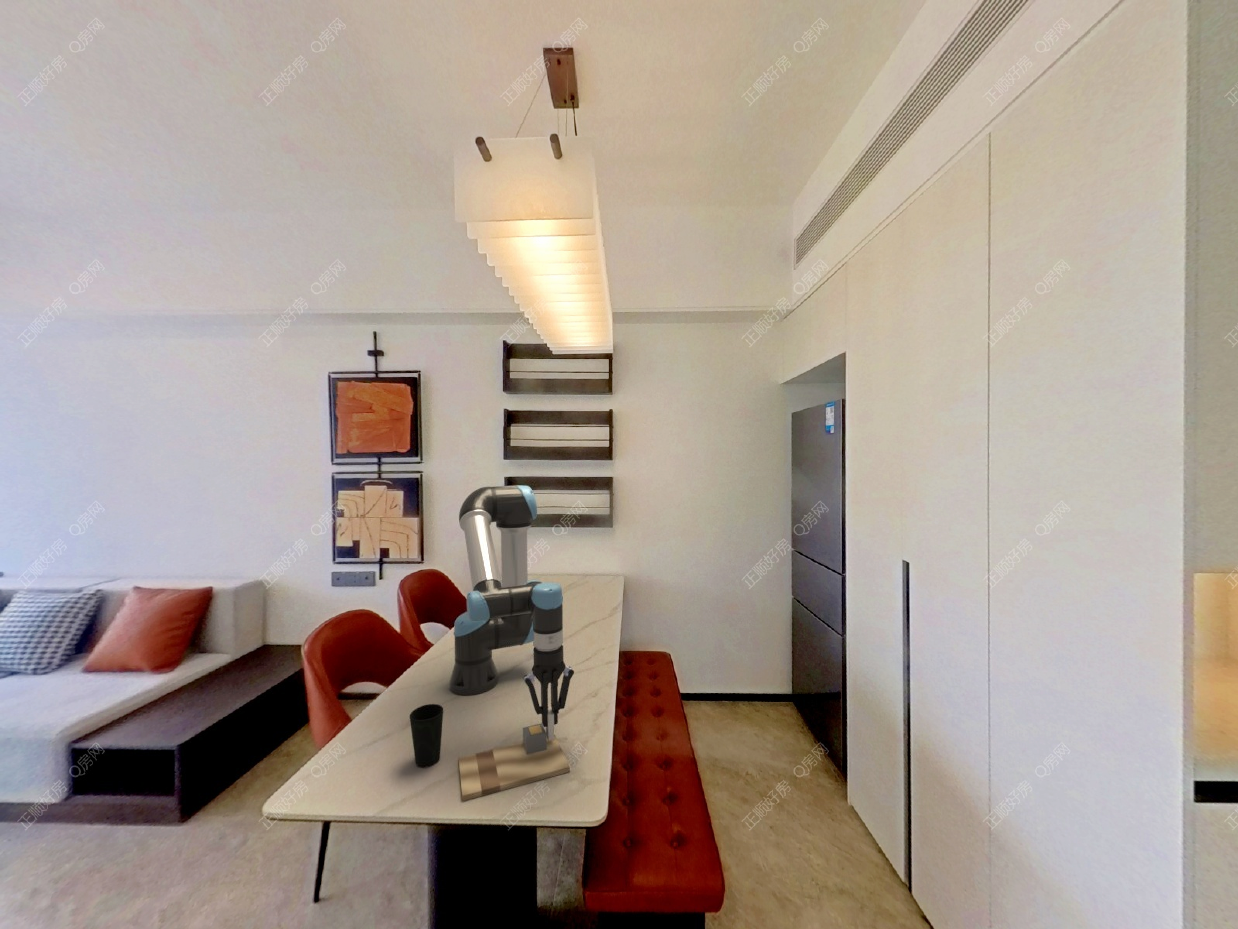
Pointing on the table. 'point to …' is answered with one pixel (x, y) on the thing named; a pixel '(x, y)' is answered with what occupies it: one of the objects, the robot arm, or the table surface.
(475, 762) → the panel
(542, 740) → the grey block
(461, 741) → the table surface
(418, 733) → the cup
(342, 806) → the table surface
